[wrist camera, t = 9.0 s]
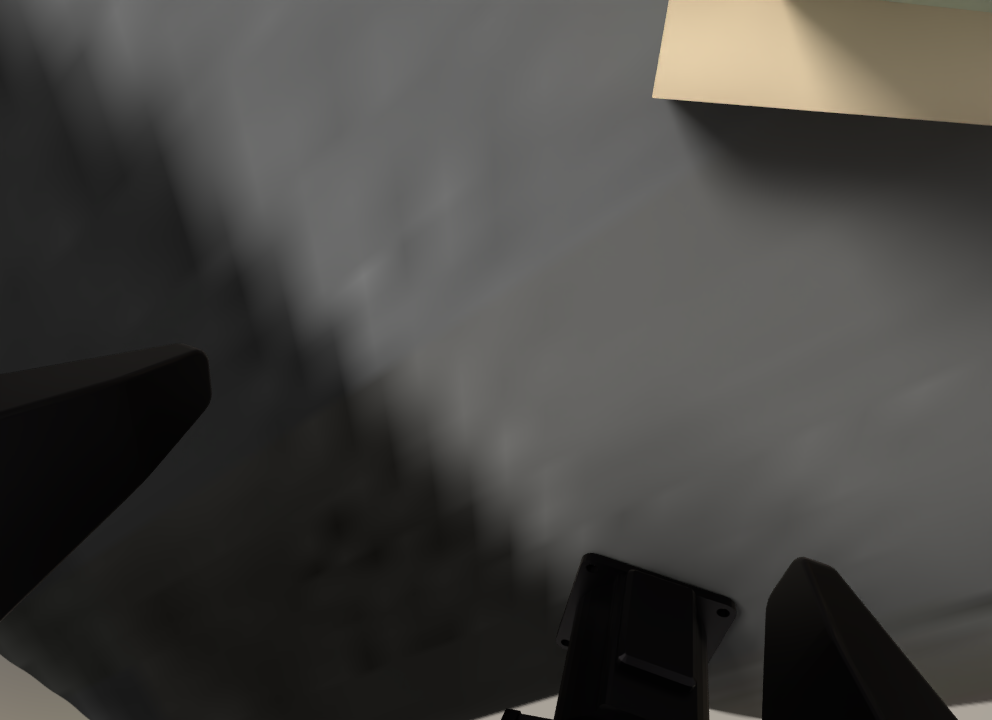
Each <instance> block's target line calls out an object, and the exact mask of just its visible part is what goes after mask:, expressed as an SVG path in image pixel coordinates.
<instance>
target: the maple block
mask: <svg viewBox="0 0 992 720" xmlns="http://www.w3.org/2000/svg"><path fill="white" fill-rule="evenodd" d="M652 98H661V99H674V100H686V101H698V102H710V103H722V104H735V105H747V106H759V107H771V108H783V109H796V110H808V111H820V112H832V113H844V114H857V115H869V116H881V117H893V118H905V119H918V120H930V121H942V122H954V123H966V124H979V125H991V126H992V13H991V12H982V11H972V10H963V9H954V8H945V7H935V6H926V5H917V4H908V3H899V2H889V1H880V0H669V4H668V10H667V15H666V21H665V27H664V33H663V38H662V44H661V50H660V56H659V61H658V67H657V73H656V79H655V84H654V90H653V96H652Z"/></svg>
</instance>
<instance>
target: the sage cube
mask: <svg viewBox="0 0 992 720" xmlns="http://www.w3.org/2000/svg"><path fill="white" fill-rule="evenodd" d="M880 1H889V2H899V3H908V4H917V5H926V6H935V7H945V8H954V9H963V10H972V11H982V12H991V13H992V0H880Z"/></svg>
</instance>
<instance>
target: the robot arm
mask: <svg viewBox="0 0 992 720" xmlns="http://www.w3.org/2000/svg"><path fill="white" fill-rule="evenodd" d="M211 396H212V388H211V379H210V369H209V360H208V356H207V355H206V353H205V352H204V351H203V350H201V349H198V348H195V347H192V346H189V345H186V344H183V343H175V344H169V345H164V346H158V347H152V348H147V349H141V350H135V351H130V352H124V353H119V354H113V355H107V356H102V357H96V358H90V359H85V360H79V361H73V362H68V363H62V364H56V365H51V366H45V367H39V368H34V369H28V370H22V371H17V372H11V373H6V374H0V622H1V621H2V620H3V619H4V618H5V617H6V616H7V615H8V614H9V613H10V612H11V611H12V610H13V609H14V608H15V607H16V606H17V605H18V604H19V603H20V602H21V601H22V600H23V599H24V598H25V597H26V596H27V595H28V594H29V593H30V592H31V591H33V590H34V589H35V588H36V587H37V586H38V585H39V584H40V583H41V582H42V581H43V580H44V579H45V578H46V577H47V576H48V575H49V574H50V573H51V572H52V571H53V570H54V569H55V568H56V567H57V566H58V565H59V564H60V563H61V562H62V561H63V560H64V559H65V558H66V557H67V556H68V555H69V554H71V553H72V552H73V551H74V550H75V549H76V548H77V547H78V546H79V545H80V544H81V543H82V542H83V541H84V540H85V539H86V538H87V537H88V536H89V535H90V534H91V533H92V532H93V531H94V530H95V529H96V528H97V527H98V526H99V525H100V524H101V523H102V522H103V521H104V520H105V519H106V518H107V517H109V516H110V515H111V514H112V513H113V512H114V511H115V510H116V509H117V508H118V507H119V506H120V505H121V504H122V503H123V502H124V501H125V500H126V499H127V498H128V497H129V496H130V495H131V494H132V493H133V492H134V491H135V490H136V489H137V488H138V487H139V486H140V485H141V484H142V483H143V482H144V481H145V480H146V479H147V477H148V476H149V475H150V474H151V473H152V472H153V471H154V470H155V469H156V467H157V466H158V465H159V464H160V463H161V461H162V460H163V459H164V458H165V457H166V456H167V454H168V453H169V452H170V451H171V450H172V448H173V447H174V446H175V445H176V444H177V443H178V441H179V440H180V439H181V438H182V437H183V435H184V434H185V433H186V432H187V431H188V430H189V428H190V427H191V426H192V425H193V424H194V423H195V421H196V420H197V419H198V418H199V417H200V415H201V414H202V413H203V412H204V411H205V409H206V408H207V407H208V405H209V403H210V400H211ZM590 564H591V565H590ZM592 565H595V566H592ZM735 617H736V605H735V603H734V602H733V601H732V600H731V599H729V598H727V597H724V596H721V595H718V594H715V593H712V592H709V591H706V590H703V589H700V588H697V587H694V586H691V585H688V584H685V583H682V582H679V581H676V580H673V579H670V578H667V577H664V576H661V575H658V574H655V573H652V572H649V571H646V570H643V569H640V568H637V567H634V566H631V565H628V564H625V563H622V562H619V561H616V560H613V559H610V558H607V557H604V556H601V555H598V554H594V553H588V554H585V555H584V556H583V557H582V560H581V563H580V566H579V569H578V572H577V575H576V578H575V581H574V584H573V587H572V590H571V593H570V596H569V599H568V602H567V605H566V608H565V611H564V614H563V617H562V620H561V623H560V626H559V629H558V633H557V637H556V643H557V645H559V646H560V647H561V648H563V649H566V650H568V651H567V656H566V661H565V666H564V671H563V676H562V681H561V686H560V691H559V696H558V701H557V706H556V711H555V716H554V720H709V692H708V662H709V661H710V659H711V657H712V656H713V654H714V652H715V651H716V649H717V647H718V646H719V644H720V642H721V641H722V639H723V637H724V636H725V634H726V632H727V631H728V629H729V627H730V626H731V624H732V622H733V621H734V619H735ZM501 720H552V719H547V718H541V717H536V716H531V715H525V714H521V712H520V711H518V710H513V709H506V710H505V712H504V714H503V717H502V719H501ZM762 720H958V719H957V718H956V717H955V716H954V715H953V713H952V712H951V711H950V709H949V708H948V707H947V706H946V705H945V703H944V702H943V701H942V700H941V698H940V697H939V696H938V695H937V693H936V692H935V691H934V690H933V689H932V687H931V686H930V685H929V684H928V682H927V681H926V680H925V679H924V678H923V676H922V675H921V674H920V673H919V671H918V670H917V669H916V668H915V667H914V665H913V664H912V663H911V662H910V660H909V659H908V658H907V657H906V655H905V654H904V653H903V652H902V651H901V649H900V648H899V647H898V646H897V644H896V643H895V642H894V641H893V640H892V638H891V637H890V636H889V635H888V633H887V632H886V631H885V630H884V628H883V627H882V626H881V625H880V624H879V622H878V621H877V620H876V619H875V617H874V616H873V615H872V614H871V613H870V611H869V610H868V609H867V608H866V606H865V605H864V604H863V603H862V601H861V600H860V599H859V598H858V597H857V595H856V594H855V593H854V592H853V590H852V589H851V588H850V587H849V586H848V584H847V583H846V582H845V581H844V579H843V578H842V577H841V576H840V575H839V573H838V572H837V571H836V570H835V569H834V568H833V567H831V566H829V565H826V564H823V563H820V562H818V561H815V560H812V559H809V558H806V557H799V558H797V559H795V560H794V561H793V562H792V563H791V565H790V566H789V568H788V569H787V571H786V572H785V574H784V575H783V577H782V578H781V580H780V581H779V583H778V584H777V585H776V587H775V588H774V590H773V591H772V593H771V595H770V597H769V599H768V603H767V607H766V622H765V648H764V675H763V701H762Z"/></svg>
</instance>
